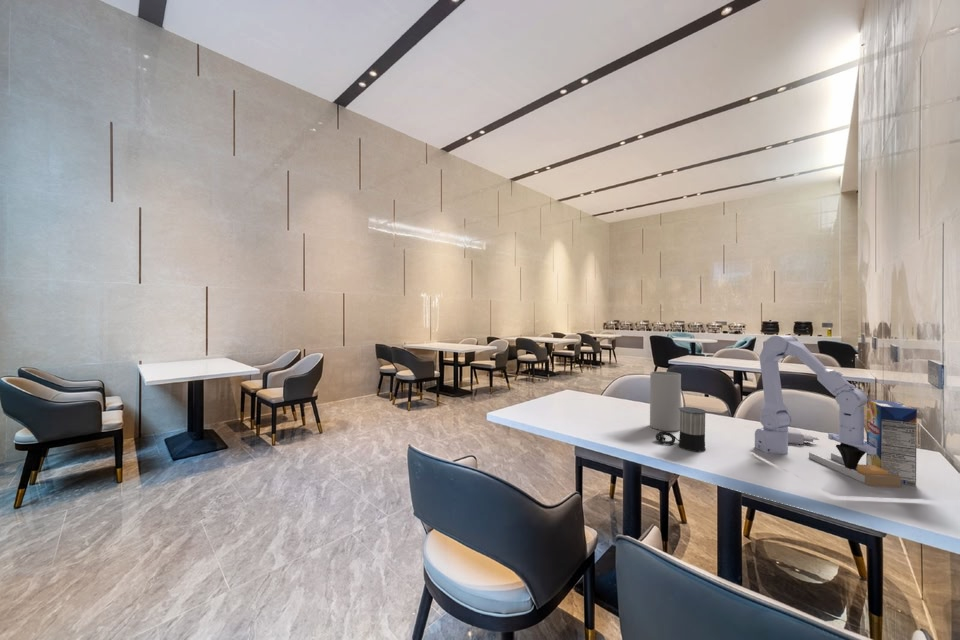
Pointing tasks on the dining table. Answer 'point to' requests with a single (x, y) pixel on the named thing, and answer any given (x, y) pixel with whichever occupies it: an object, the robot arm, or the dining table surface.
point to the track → (868, 479)
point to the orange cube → (871, 470)
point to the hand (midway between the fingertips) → (850, 468)
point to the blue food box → (893, 438)
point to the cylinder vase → (665, 400)
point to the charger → (798, 437)
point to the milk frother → (688, 430)
